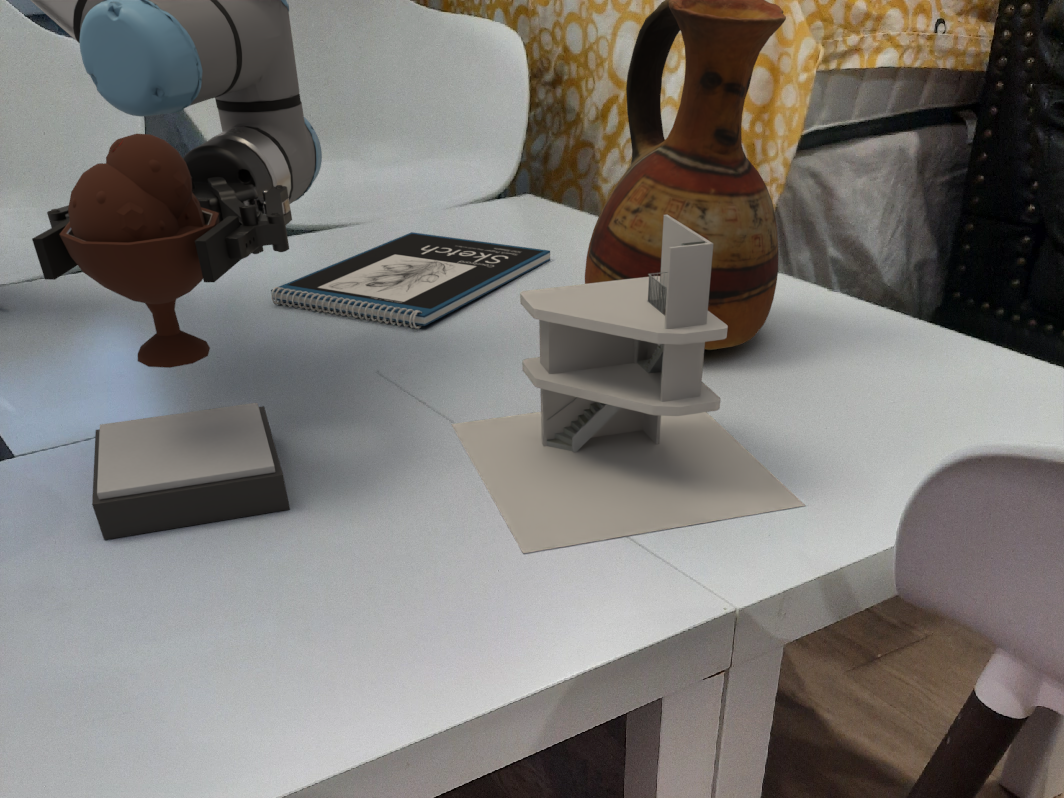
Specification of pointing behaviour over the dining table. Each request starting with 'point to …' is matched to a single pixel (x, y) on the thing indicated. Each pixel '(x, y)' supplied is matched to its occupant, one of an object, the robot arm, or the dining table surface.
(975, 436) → the dining table surface
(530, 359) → the architectural model
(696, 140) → the ceramic pitcher
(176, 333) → the ice cream bowl
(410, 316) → the sketchbook
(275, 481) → the scale
